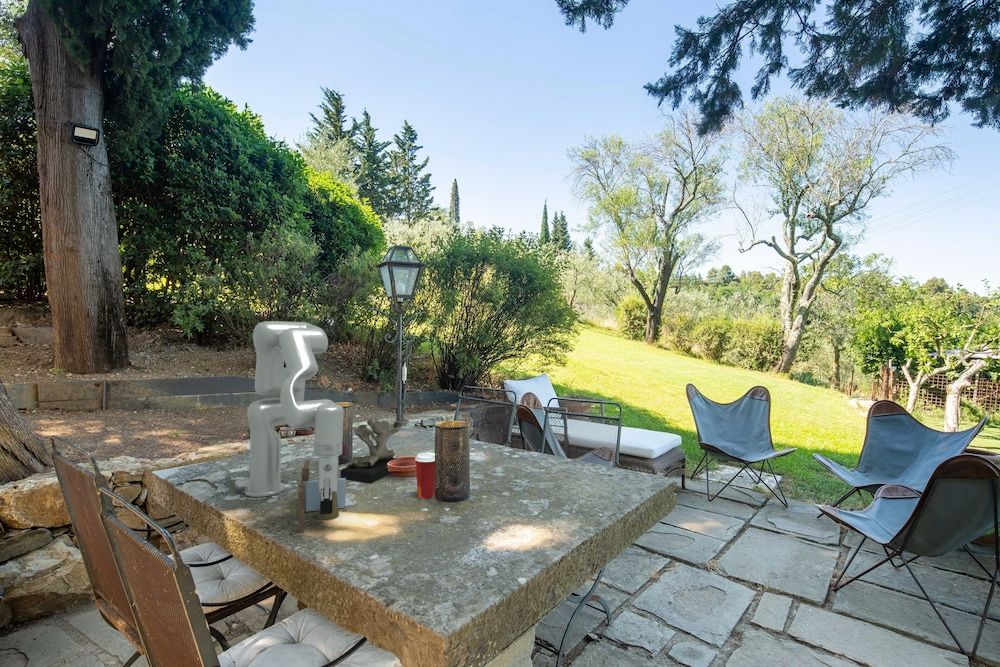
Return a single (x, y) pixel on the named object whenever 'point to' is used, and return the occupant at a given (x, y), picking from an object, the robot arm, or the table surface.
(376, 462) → the coral
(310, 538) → the table surface
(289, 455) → the table surface
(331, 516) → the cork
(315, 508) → the door
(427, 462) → the paper cup
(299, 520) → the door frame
